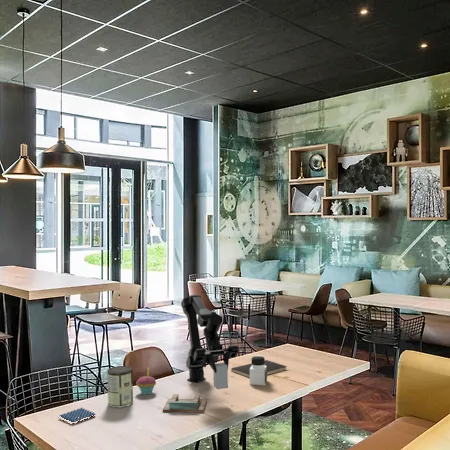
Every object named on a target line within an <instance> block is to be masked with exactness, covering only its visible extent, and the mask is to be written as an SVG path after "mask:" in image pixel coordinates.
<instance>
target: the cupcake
mask: <svg viewBox="0 0 450 450" xmlns="http://www.w3.org/2000/svg"><path fill="white" fill-rule="evenodd" d="M149 374H150V366H148V367H147V374H146V375H144V376H141V377H139V378H138V379H137V380H136V382H135V383H136V386H137V387H138V388H139V390H140V393H141V394H142V395H151V394H152V393H153V391H154V388H155V385H157V381H156V378H155V377H153V376H151V375H149Z"/></svg>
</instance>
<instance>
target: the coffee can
mask: <svg viewBox="0 0 450 450" xmlns="http://www.w3.org/2000/svg"><path fill="white" fill-rule="evenodd" d="M106 373H107V401H108V402H107V403H108V404H107V405H108V406H109V407H110V406H112V407H111V408H115V407H119V408H125V406H126V407H128V406H131V405H132V404H133V403H134V395H133V394H134V391H133V389H134V386H133V367H131V366H128V365H118V366H117V365H116V366H112V367H109V368H108V369H106Z"/></svg>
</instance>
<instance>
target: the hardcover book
mask: <svg viewBox="0 0 450 450" xmlns="http://www.w3.org/2000/svg"><path fill="white" fill-rule="evenodd" d="M251 366H252V362H251V363H247V364H243V365H239V366H235V367H231V369H230V370H231V372H233V373H235V372H236V373H235V374H238V373H239V374H238V375H241V374H242V375H241V376H243V375H244V376H243V377H246V376H247V378H249V379H250V368H251ZM265 366H267V375H270V374H274V373H278V372H282V371H286V370H287V367H288V366H287V365H284V364H280V363H278V362H275V361H271V360H268V359H265Z"/></svg>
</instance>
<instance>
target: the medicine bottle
mask: <svg viewBox="0 0 450 450" xmlns="http://www.w3.org/2000/svg"><path fill="white" fill-rule="evenodd" d="M265 360H266V358H265V357H264V356H262V355H254V356H252V357H251V363H252V366H251V368H250V378H249V385H250V386H251V385H252V386H266V384H267V381H268V374H267V366H265Z"/></svg>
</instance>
